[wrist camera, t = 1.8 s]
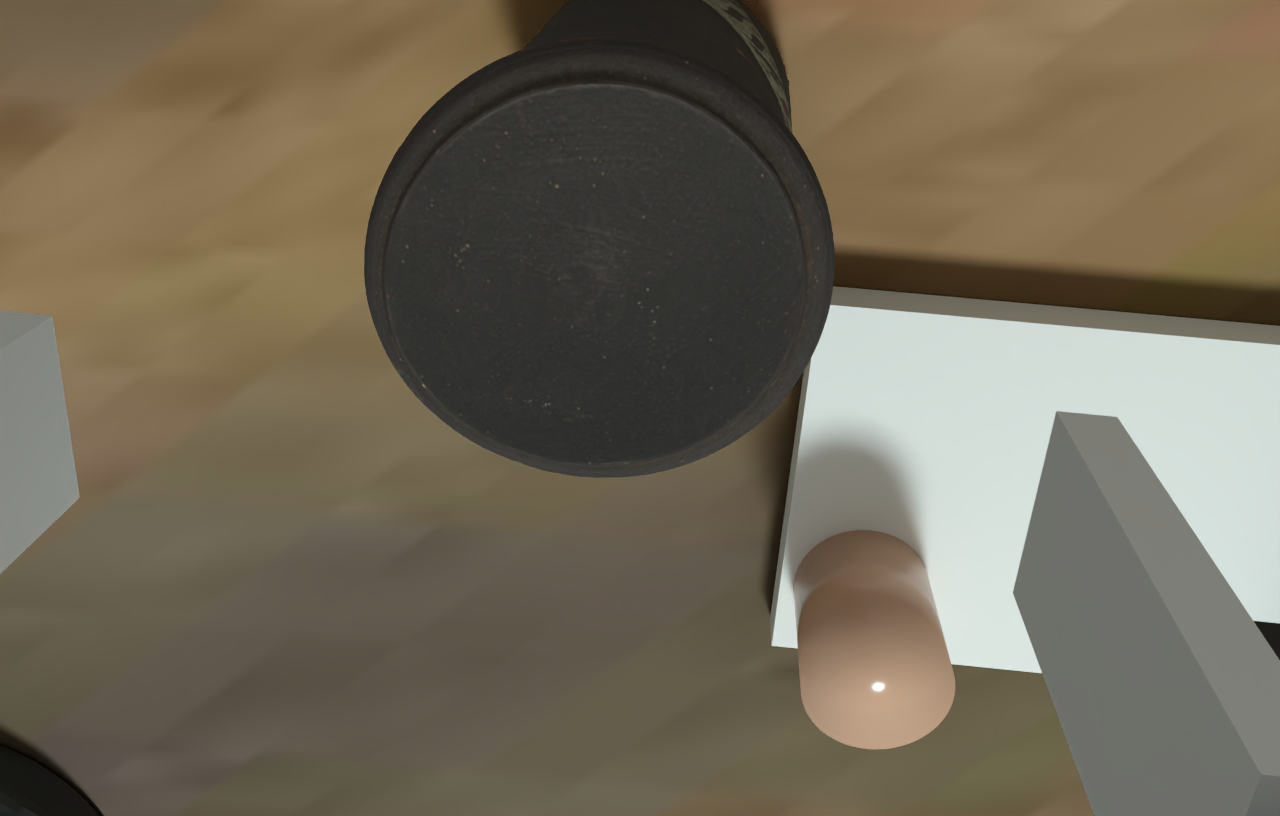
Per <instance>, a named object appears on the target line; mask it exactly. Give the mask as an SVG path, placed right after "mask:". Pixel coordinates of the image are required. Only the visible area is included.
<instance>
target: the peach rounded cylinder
mask: <svg viewBox="0 0 1280 816" xmlns="http://www.w3.org/2000/svg"><path fill="white" fill-rule="evenodd" d="M793 589H794V603H795V617H796V631H797V645H798V658H799V672H800V686H801V698H802V701H803V705H804V708H805V710H806V712H807V714H808V716H809V717H810V719H811V720H812V721H813V722H814V724H815V725H816V726H817V727H818V728H819V729H820V730H821V731H823V732H824V733H825V734H827V735H828V736H830V737H831V738H833V739H835V740H837V741H839V742H841V743H844V744H847V745H850V746H854V747H858V748H864V749H888V748H895V747H899V746H903V745H906V744H909V743H912V742H914V741H916V740H918V739H920V738H922V737H924V736H925V735H927V734H928V733H930V732H931V731H932V730H933V729H935V728H936V727H937V726H938V725H939V724H940V723H941V721H942V720H943V719H944V718H945V716H946V715H947V713H948V711H949V709H950V707H951V705H952V702H953V699H954V694H955V678H954V673H953V669H952V665H951V661H950V658H949V654H948V650H947V646H946V642H945V638H944V635H943V631H942V627H941V623H940V619H939V616H938V612H937V608H936V604H935V600H934V596H933V593H932V589H931V585H930V581H929V577H928V574H927V571H926V568H925V565H924V563H923V561H922V560H921V558H920V557H919V555H918V554H917V553H916V552H915V551H914V550H913V549H912V548H911V547H910V546H909V545H908V544H906V543H905V542H903V541H902V540H900V539H898V538H896V537H894V536H892V535H889V534H886V533H882V532H878V531H871V530H855V531H848V532H843V533H840V534H837V535H834V536H832V537H829V538H827V539H825V540H824V541H822V542H820V543H819V544H818V545H816V546H815V547H814V548H812V549H811V550H810V551H809V552H808V553H807V555H806V556H805V557H804V558H803V560H802V561H801V563H800V565H799V567H798V569H797V572H796V574H795V579H794V588H793Z"/></svg>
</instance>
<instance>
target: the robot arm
mask: <svg viewBox="0 0 1280 816" xmlns="http://www.w3.org/2000/svg"><path fill="white" fill-rule="evenodd" d="M79 498H80V497H79V490H78V483H77V477H76V470H75V463H74V457H73V450H72V443H71V437H70V430H69V423H68V417H67V410H66V403H65V397H64V390H63V383H62V377H61V370H60V363H59V357H58V350H57V343H56V337H55V330H54V323H53V317H52V316H50V315H40V314H29V313H19V312H8V311H0V574H1V573H2V572H3V571H4V570H5V569H6V568H7V567H8V566H9V565H10V564H11V563H12V562H13V561H14V560H15V559H16V558H17V557H18V556H20V555H21V554H22V553H23V552H24V551H25V550H26V549H27V548H28V547H29V546H30V545H31V544H32V543H33V542H34V541H35V540H36V539H37V538H38V537H39V536H40V535H41V534H42V533H43V532H45V531H46V530H47V529H48V528H49V527H50V526H51V525H52V524H53V523H54V522H55V521H56V520H57V519H58V518H59V517H60V516H61V515H62V514H63V513H64V512H65V511H66V510H67V509H68V508H69V507H71V506H72V505H73V504H74V503H75V502H76V501H77V500H78V499H79ZM1013 595H1014V597H1015V600H1016V603H1017V606H1018V608H1019V611H1020V614H1021V617H1022V619H1023V622H1024V625H1025V628H1026V630H1027V633H1028V636H1029V639H1030V641H1031V644H1032V647H1033V650H1034V652H1035V655H1036V658H1037V661H1038V663H1039V666H1040V669H1041V671H1042V674H1043V677H1044V680H1045V682H1046V685H1047V688H1048V691H1049V693H1050V696H1051V699H1052V702H1053V704H1054V707H1055V710H1056V713H1057V715H1058V718H1059V721H1060V724H1061V726H1062V729H1063V732H1064V734H1065V737H1066V740H1067V743H1068V745H1069V748H1070V751H1071V754H1072V756H1073V759H1074V762H1075V765H1076V767H1077V770H1078V773H1079V776H1080V778H1081V781H1082V784H1083V787H1084V789H1085V792H1086V795H1087V798H1088V800H1089V803H1090V806H1091V808H1092V811H1093V814H1094V816H1280V623H1270V622H1261V621H1253V620H1252V618H1251V617H1250V615H1249V614H1248V612H1247V611H1246V609H1245V608H1244V606H1243V605H1242V603H1241V602H1240V600H1239V599H1238V597H1237V596H1236V594H1235V593H1234V591H1233V590H1232V588H1231V587H1230V585H1229V584H1228V582H1227V581H1226V579H1225V578H1224V576H1223V575H1222V573H1221V572H1220V570H1219V569H1218V567H1217V566H1216V564H1215V563H1214V561H1213V560H1212V558H1211V557H1210V555H1209V554H1208V552H1207V551H1206V549H1205V548H1204V546H1203V545H1202V543H1201V542H1200V540H1199V539H1198V537H1197V536H1196V534H1195V533H1194V531H1193V530H1192V528H1191V527H1190V525H1189V524H1188V522H1187V521H1186V519H1185V518H1184V516H1183V515H1182V513H1181V512H1180V510H1179V509H1178V507H1177V506H1176V504H1175V503H1174V501H1173V500H1172V498H1171V497H1170V495H1169V494H1168V492H1167V491H1166V489H1165V488H1164V486H1163V485H1162V483H1161V482H1160V480H1159V479H1158V477H1157V476H1156V474H1155V473H1154V471H1153V470H1152V468H1151V467H1150V465H1149V464H1148V462H1147V461H1146V459H1145V458H1144V456H1143V455H1142V453H1141V452H1140V450H1139V449H1138V447H1137V446H1136V444H1135V443H1134V441H1133V440H1132V438H1131V437H1130V435H1129V434H1128V432H1127V431H1126V429H1125V428H1124V426H1123V425H1122V423H1121V422H1120V420H1119V419H1118V417H1113V416H1103V415H1092V414H1082V413H1071V412H1061V411H1056V414H1055V419H1054V423H1053V427H1052V431H1051V435H1050V439H1049V444H1048V448H1047V452H1046V456H1045V460H1044V464H1043V469H1042V473H1041V477H1040V481H1039V485H1038V490H1037V494H1036V498H1035V502H1034V506H1033V510H1032V515H1031V519H1030V523H1029V527H1028V531H1027V535H1026V540H1025V544H1024V548H1023V552H1022V556H1021V560H1020V565H1019V569H1018V573H1017V577H1016V581H1015V585H1014V590H1013ZM0 816H99V815H98V814H97V813H96V811H95V810H94V809H93V808H92V807H91V806H90V805H89V803H88V802H87V801H86V800H85V799H84V798H83V797H82V796H81V795H80V794H79V793H77V792H76V791H75V790H74V789H73V788H72V787H71V786H69V785H68V784H67V783H66V782H64V781H63V780H62V779H61V778H59V777H58V776H56V775H55V774H54V773H52V772H51V771H49V770H48V769H46V768H44V767H43V766H41V765H40V764H38V763H36V762H34V761H33V760H31V759H29V758H27V757H25V756H23V755H21V754H19V753H17V752H15V751H12V750H10V749H8V748H5V747H3V746H0Z"/></svg>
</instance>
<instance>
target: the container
mask: <svg viewBox="0 0 1280 816" xmlns="http://www.w3.org/2000/svg"><path fill="white" fill-rule="evenodd" d="M834 264H835V255H834V242H833V232H832V227H831V220H830V215H829V211H828V207H827V203H826V200H825V197H824V194H823V191H822V188H821V186H820V183H819V181H818V178H817V176H816V173H815V171H814V169H813V167H812V165H811V163H810V161H809V160H808V158H807V156H806V154H805V152H804V150H803V149H802V147H801V146H800V144H799V143H798V141H797V140H796V138H795V137H794V135H793V134H792V124H791V107H790V95H789V81H788V79H787V77H786V74H785V70H784V67H783V64H782V61H781V58H780V55H779V53H778V51H777V48H776V46H775V44H774V42H773V40H772V38H771V37H770V35H769V33H768V32H767V30H766V29H765V27H764V26H763V25H762V24H761V22H760V21H759V20H758V19H757V18H756V16H755V15H754V14H753V13H752V12H751V11H750V10H749V9H748V8H747V7H746V6H745V5H744V4H743V3H742V2H741V1H740V0H570V1H569V2H568V3H567V4H566V5H565V6H563V7H562V8H561V9H560V10H559V11H558V12H557V13H556V14H555V15H554V17H553V18H552V19H551V20H550V21H549V22H548V23H547V24H546V25H545V27H544V28H543V29H542V30H541V31H540V32H539V34H538V35H537V36H536V37H535V38H534V39H533V40H532V41H531V42H530V43H529V44H528V45H527V46H526V47H525V48H524V49H523V50H521V51H518V52H515V53H513V54H511V55H508V56H506V57H503V58H501V59H499V60H497V61H495V62H493V63H491V64H489V65H487V66H485V67H484V68H482V69H480V70H478V71H477V72H475V73H473V74H472V75H470V76H469V77H467V78H466V79H464V80H463V81H461V82H460V83H459V84H457V85H456V86H455V87H454V88H452V89H451V90H450V91H449V92H447V93H446V94H445V95H444V96H443V97H442V98H441V99H440V100H438V101H437V102H436V103H435V104H434V105H433V106H432V107H431V108H430V109H429V110H428V111H427V112H426V113H425V114H424V115H423V117H422V118H421V119H420V120H419V121H418V123H417V124H416V125H415V126H414V128H413V129H412V130H411V132H410V133H409V135H408V136H407V138H406V139H405V141H404V142H403V144H402V145H401V146H400V147H399V149H398V150H397V152H396V154H395V155H394V157H393V159H392V161H391V163H390V165H389V166H388V169H387V171H386V173H385V175H384V177H383V179H382V182H381V184H380V186H379V189H378V192H377V195H376V198H375V201H374V205H373V208H372V211H371V215H370V219H369V223H368V229H367V235H366V244H365V266H364V276H365V287H366V295H367V300H368V305H369V308H370V312H371V316H372V319H373V323H374V325H375V328H376V330H377V333H378V336H379V338H380V340H381V342H382V345H383V347H384V349H385V351H386V353H387V355H388V357H389V359H390V361H391V362H392V364H393V366H394V367H395V369H396V370H397V372H398V373H399V375H400V376H401V378H402V379H403V380H404V382H405V383H406V384H407V386H408V387H409V388H410V389H411V391H412V392H413V393H414V394H415V395H416V397H417V398H418V399H419V400H420V401H421V402H422V403H423V404H424V405H425V406H426V407H428V408H429V409H430V410H431V411H432V412H433V413H434V414H435V415H437V416H438V417H439V418H440V419H441V420H442V421H443V422H445V423H446V424H447V425H449V426H450V427H451V428H453V429H454V430H455V431H457V432H458V433H460V434H461V435H463V436H464V437H466V438H468V439H469V440H471V441H473V442H474V443H476V444H478V445H479V446H481V447H483V448H485V449H488V450H490V451H492V452H494V453H496V454H499V455H501V456H503V457H506V458H508V459H511V460H514V461H518V462H521V463H522V464H525V465H528V466H531V467H534V468H538V469H541V470H545V471H550V472H554V473H560V474H566V475H572V476H579V477H595V478H597V477H629V476H639V475H646V474H652V473H657V472H661V471H665V470H669V469H673V468H676V467H680V466H683V465H686V464H689V463H691V462H694V461H696V460H699V459H701V458H703V457H706V456H708V455H710V454H712V453H714V452H716V451H718V450H720V449H722V448H724V447H726V446H727V445H729V444H731V443H732V442H734V441H736V440H737V439H739V438H740V437H742V436H743V435H745V434H746V433H747V432H749V431H750V430H752V429H753V428H754V427H755V426H757V425H758V424H759V423H760V422H761V421H762V420H764V419H765V418H766V417H767V416H768V415H769V414H770V413H771V412H772V411H773V410H774V409H775V408H776V407H777V406H778V404H779V403H780V402H781V401H782V400H783V399H784V398H785V397H786V395H787V394H788V393H789V392H790V390H791V389H792V388H793V387H794V385H795V384H796V382H797V381H798V380H799V378H800V376H801V375H802V373H803V372H804V370H805V368H806V367H807V365H808V363H809V361H810V359H811V357H812V355H813V353H814V351H815V349H816V347H817V344H818V342H819V340H820V337H821V334H822V332H823V329H824V326H825V323H826V320H827V316H828V312H829V309H830V304H831V298H832V291H833V281H834Z"/></svg>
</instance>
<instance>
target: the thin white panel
mask: <svg viewBox="0 0 1280 816" xmlns="http://www.w3.org/2000/svg"><path fill="white" fill-rule="evenodd" d="M1056 411H1061V412H1071V413H1082V414H1092V415H1103V416H1113V417H1118V419H1119V420H1120V422H1121V423H1122V425H1123V426H1124V428H1125V429H1126V431H1127V432H1128V434H1129V435H1130V437H1131V438H1132V440H1133V441H1134V443H1135V444H1136V446H1137V447H1138V449H1139V450H1140V452H1141V453H1142V455H1143V456H1144V458H1145V459H1146V461H1147V462H1148V464H1149V465H1150V467H1151V468H1152V470H1153V471H1154V473H1155V474H1156V476H1157V477H1158V479H1159V480H1160V482H1161V483H1162V485H1163V486H1164V488H1165V489H1166V491H1167V492H1168V494H1169V495H1170V497H1171V498H1172V500H1173V501H1174V503H1175V504H1176V506H1177V507H1178V509H1179V510H1180V512H1181V513H1182V515H1183V516H1184V518H1185V519H1186V521H1187V522H1188V524H1189V525H1190V527H1191V528H1192V530H1193V531H1194V533H1195V534H1196V536H1197V537H1198V539H1199V540H1200V542H1201V543H1202V545H1203V546H1204V548H1205V549H1206V551H1207V552H1208V554H1209V555H1210V557H1211V558H1212V560H1213V561H1214V563H1215V564H1216V566H1217V567H1218V569H1219V570H1220V572H1221V573H1222V575H1223V576H1224V578H1225V579H1226V581H1227V582H1228V584H1229V585H1230V587H1231V588H1232V590H1233V591H1234V593H1235V594H1236V596H1237V597H1238V599H1239V600H1240V602H1241V603H1242V605H1243V606H1244V608H1245V609H1246V611H1247V612H1248V614H1249V615H1250V617H1251V618H1252V620H1253V621H1261V622H1270V623H1280V326H1275V325H1264V324H1253V323H1241V322H1230V321H1219V320H1208V319H1196V318H1185V317H1174V316H1163V315H1151V314H1140V313H1129V312H1118V311H1106V310H1095V309H1084V308H1072V307H1061V306H1050V305H1039V304H1027V303H1016V302H1005V301H994V300H982V299H971V298H960V297H949V296H937V295H926V294H915V293H904V292H892V291H881V290H870V289H859V288H847V287H836V286H833V291H832V298H831V304H830V309H829V312H828V316H827V320H826V323H825V326H824V329H823V332H822V334H821V337H820V340H819V342H818V344H817V347H816V349H815V351H814V353H813V355H812V357H811V359H810V361H809V363H808V365H807V367H806V368H805V370H804V373H803V380H802V387H801V395H800V402H799V409H798V417H797V424H796V431H795V439H794V446H793V453H792V461H791V468H790V475H789V483H788V490H787V497H786V505H785V512H784V519H783V527H782V534H781V541H780V549H779V556H778V563H777V571H776V578H775V585H774V593H773V600H772V607H771V615H770V620H771V645H772V646H780V647H790V648H798V645H797V631H796V617H795V603H794V589H793V588H794V579H795V574H796V572H797V569H798V567H799V565H800V563H801V561H802V560H803V558H804V557H805V556H806V555H807V553H808V552H809V551H810V550H811V549H812V548H814V547H815V546H816V545H818V544H819V543H820V542H822V541H824V540H825V539H827V538H829V537H832V536H834V535H837V534H840V533H843V532H848V531H855V530H871V531H878V532H882V533H886V534H889V535H892V536H894V537H896V538H898V539H900V540H902V541H903V542H905V543H906V544H908V545H909V546H910V547H911V548H912V549H913V550H914V551H915V552H916V553H917V554H918V555H919V557H920V558H921V560H922V561H923V563H924V565H925V568H926V571H927V574H928V577H929V581H930V585H931V589H932V593H933V596H934V600H935V604H936V608H937V612H938V616H939V619H940V623H941V627H942V631H943V635H944V638H945V642H946V646H947V650H948V654H949V658H950V661H951V664H957V665H967V666H977V667H986V668H996V669H1006V670H1016V671H1026V672H1036V673H1042V671H1041V669H1040V666H1039V663H1038V661H1037V658H1036V655H1035V652H1034V650H1033V647H1032V644H1031V641H1030V639H1029V636H1028V633H1027V630H1026V628H1025V625H1024V622H1023V619H1022V617H1021V614H1020V611H1019V608H1018V606H1017V603H1016V600H1015V597H1014V595H1013V590H1014V585H1015V581H1016V577H1017V573H1018V569H1019V565H1020V560H1021V556H1022V552H1023V548H1024V544H1025V540H1026V535H1027V531H1028V527H1029V523H1030V519H1031V515H1032V510H1033V506H1034V502H1035V498H1036V494H1037V490H1038V485H1039V481H1040V477H1041V473H1042V469H1043V464H1044V460H1045V456H1046V452H1047V448H1048V444H1049V439H1050V435H1051V431H1052V427H1053V423H1054V419H1055V414H1056Z"/></svg>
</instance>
